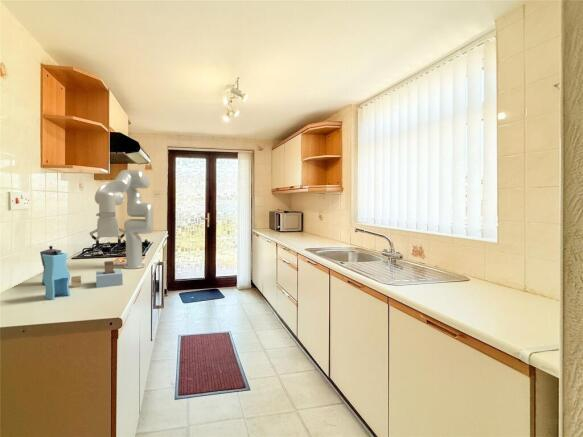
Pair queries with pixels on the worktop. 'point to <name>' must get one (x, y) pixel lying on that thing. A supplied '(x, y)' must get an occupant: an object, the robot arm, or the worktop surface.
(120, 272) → the socket block
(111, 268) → the walnut peg long
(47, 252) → the moka pot
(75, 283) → the oak peg short
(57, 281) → the blue hollow-base tower
